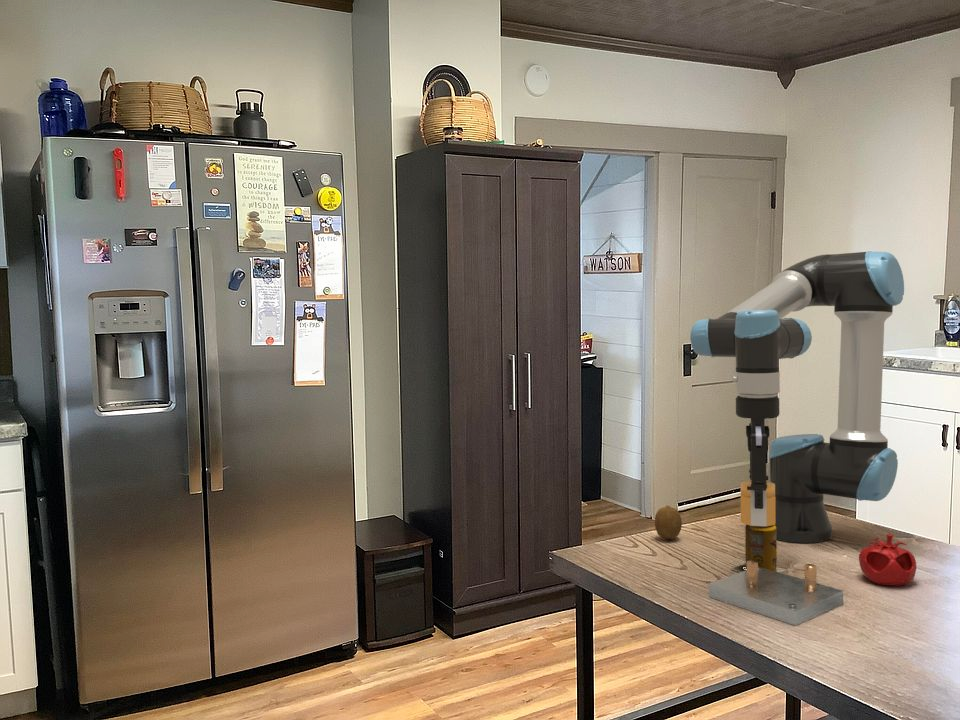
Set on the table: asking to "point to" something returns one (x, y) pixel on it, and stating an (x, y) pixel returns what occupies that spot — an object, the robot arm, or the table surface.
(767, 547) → the condiment
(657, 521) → the fruit
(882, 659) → the table surface
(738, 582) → the plate
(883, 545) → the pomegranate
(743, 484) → the wire nut
